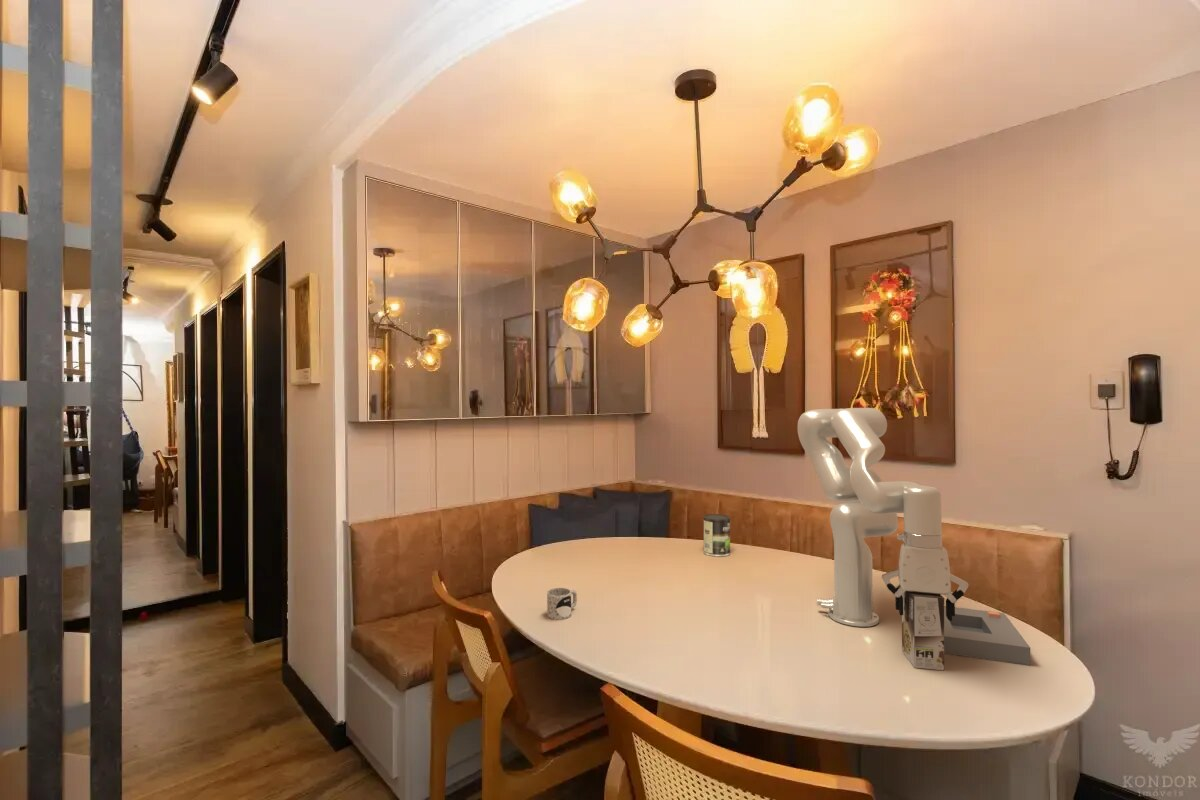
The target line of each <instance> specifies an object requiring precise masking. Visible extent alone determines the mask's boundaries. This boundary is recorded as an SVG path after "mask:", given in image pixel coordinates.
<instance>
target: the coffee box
mask: <svg viewBox="0 0 1200 800" xmlns="http://www.w3.org/2000/svg"><path fill="white" fill-rule="evenodd" d="M902 597H903V615H901V644H902V645H901V647H902V648H901V649H902V650H901V651H902V654H904V656H905V658H907V660H908V661H909V662H910V664H911V665H912V666H913V668H915V669H924V670H925V669H927V670H937V671H944V670H945V653H944V606H945V600H946V599H945V597H944V595H941V594H929V593H919V592H910V591H905V592H904V593H903V594H902Z"/></svg>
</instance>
